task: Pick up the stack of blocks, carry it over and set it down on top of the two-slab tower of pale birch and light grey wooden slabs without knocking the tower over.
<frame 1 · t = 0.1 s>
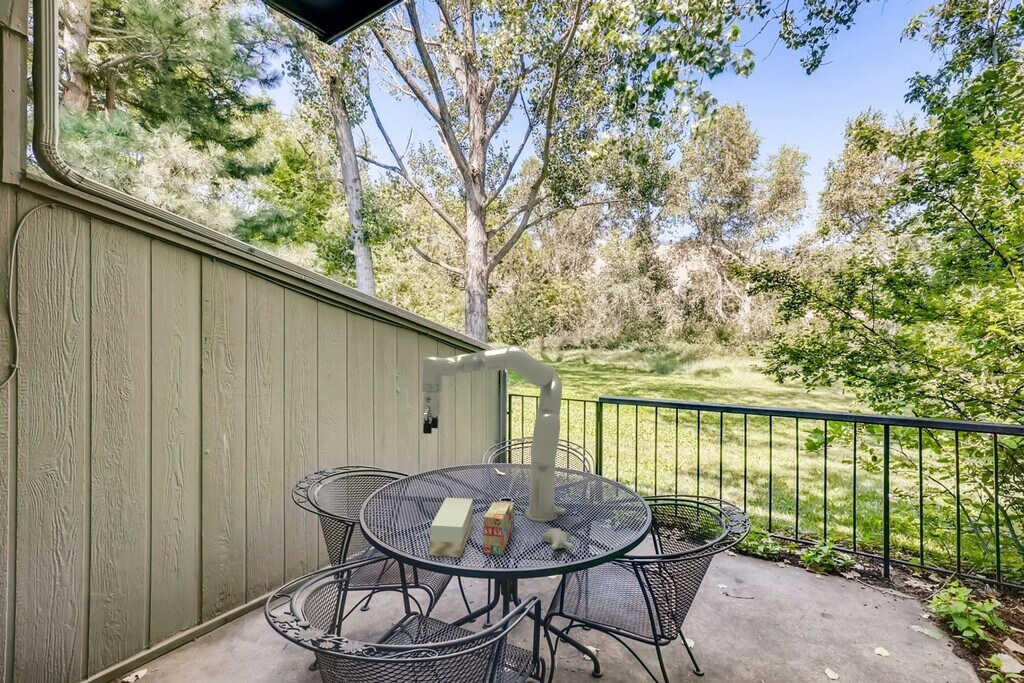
hand: (430, 430, 178), 31 cm above the table, tool pointing down, fingers open, 9 cm apart
lower slab: (452, 540, 154), on the table, touching upper slab
upper slab: (453, 525, 154), point 5 cm above the table, touching lower slab
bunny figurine: (557, 547, 151), on the table
stack of blocks: (499, 540, 155), on the table
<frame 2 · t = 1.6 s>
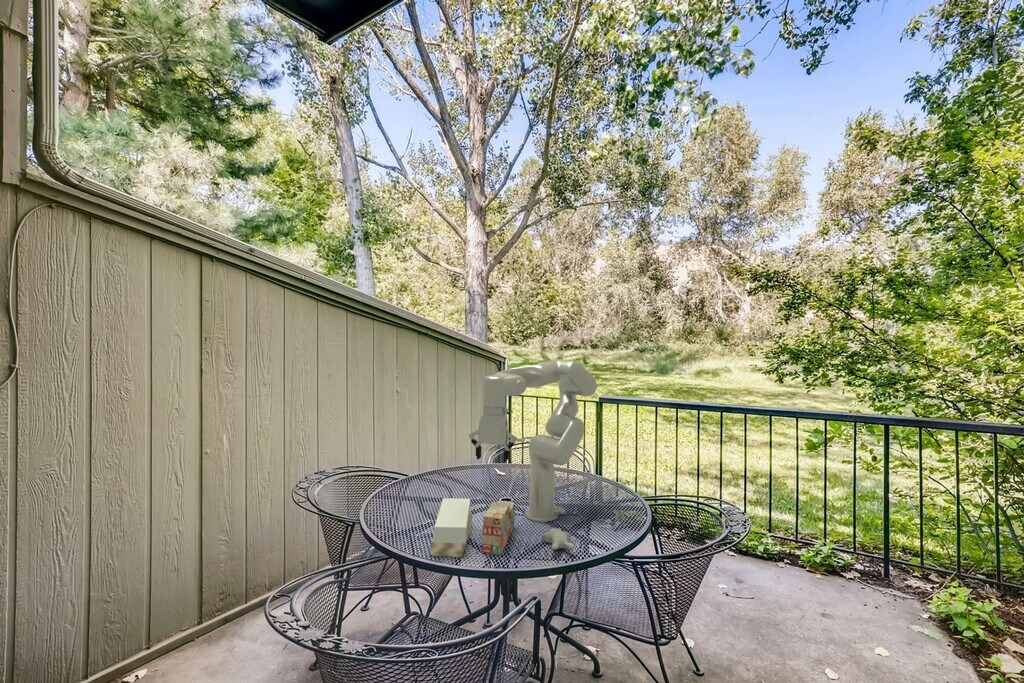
hand: (492, 459, 157), 27 cm above the table, tool pointing down, fingers open, 9 cm apart
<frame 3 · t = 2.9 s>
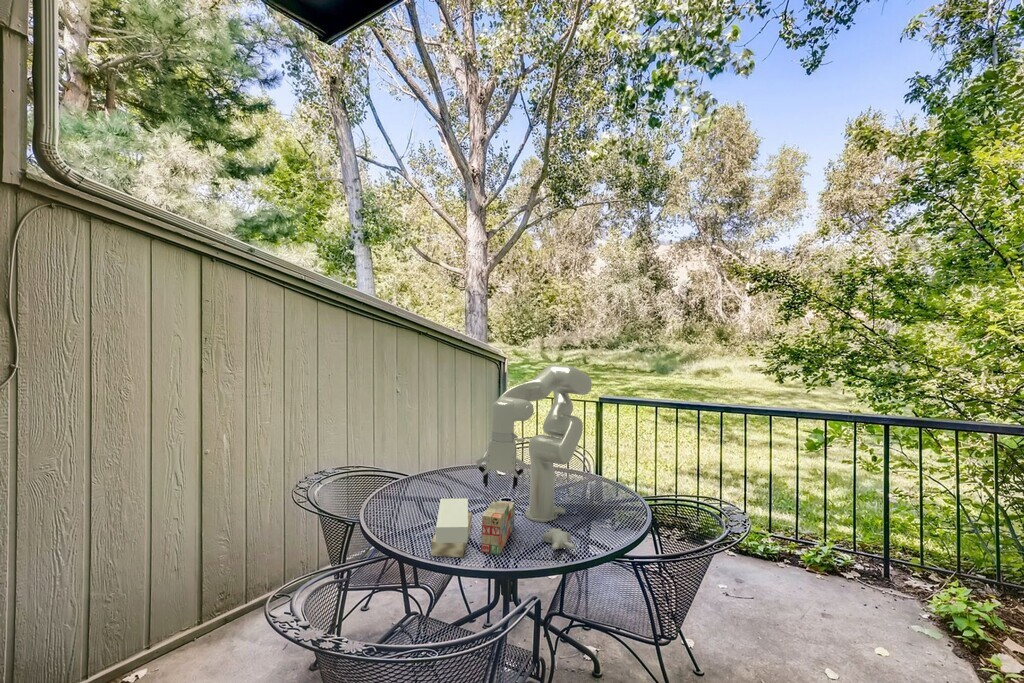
hand: (500, 486, 154), 18 cm above the table, tool pointing down, fingers open, 9 cm apart
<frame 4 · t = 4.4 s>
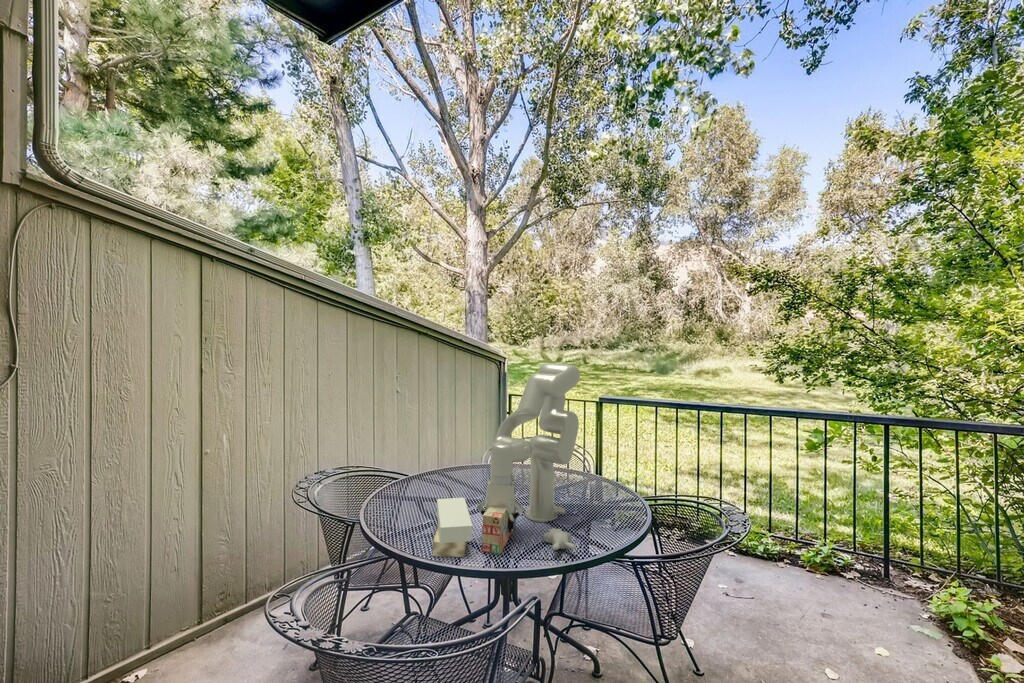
hand: (499, 529, 155), 3 cm above the table, tool pointing down, fingers closed on stack of blocks, 6 cm apart
stack of blocks: (499, 539, 155), on the table, touching gripper
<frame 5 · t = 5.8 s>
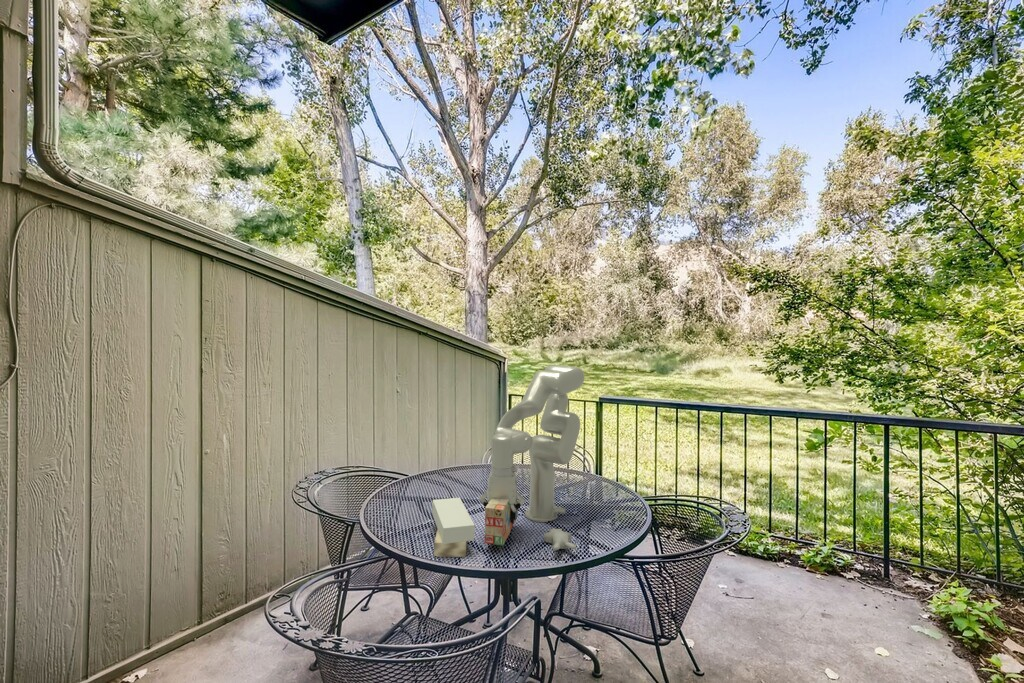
hand: (501, 520, 155), 6 cm above the table, tool pointing down, fingers closed on stack of blocks, 6 cm apart
stack of blocks: (502, 530, 156), point 2 cm above the table, touching gripper
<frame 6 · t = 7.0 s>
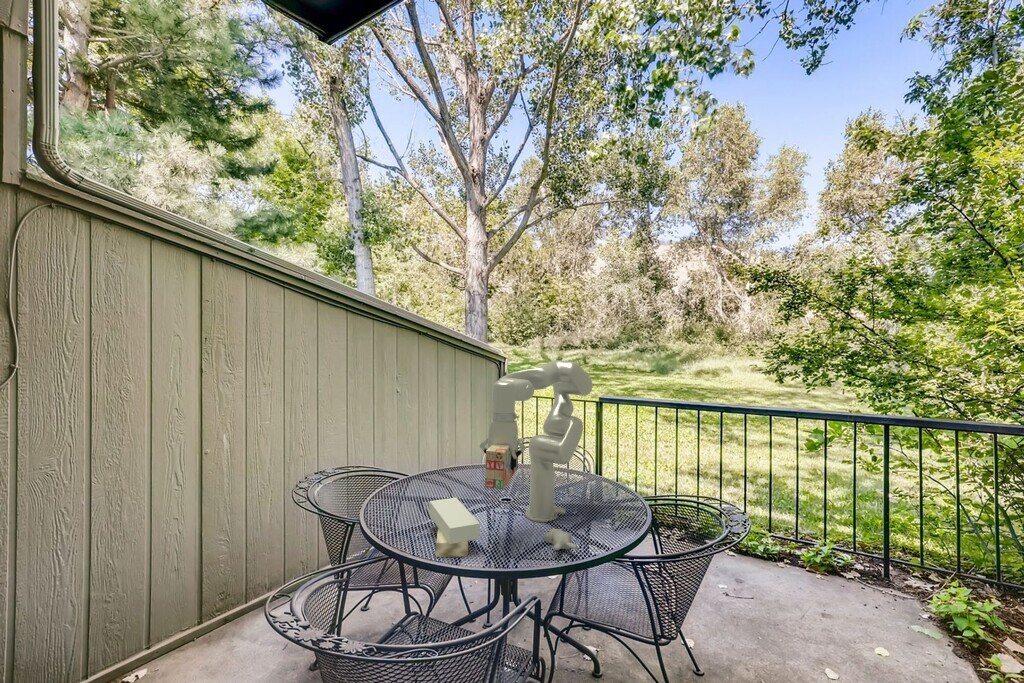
hand: (502, 468, 154), 25 cm above the table, tool pointing down, fingers closed on stack of blocks, 6 cm apart
stack of blocks: (502, 478, 155), point 21 cm above the table, touching gripper
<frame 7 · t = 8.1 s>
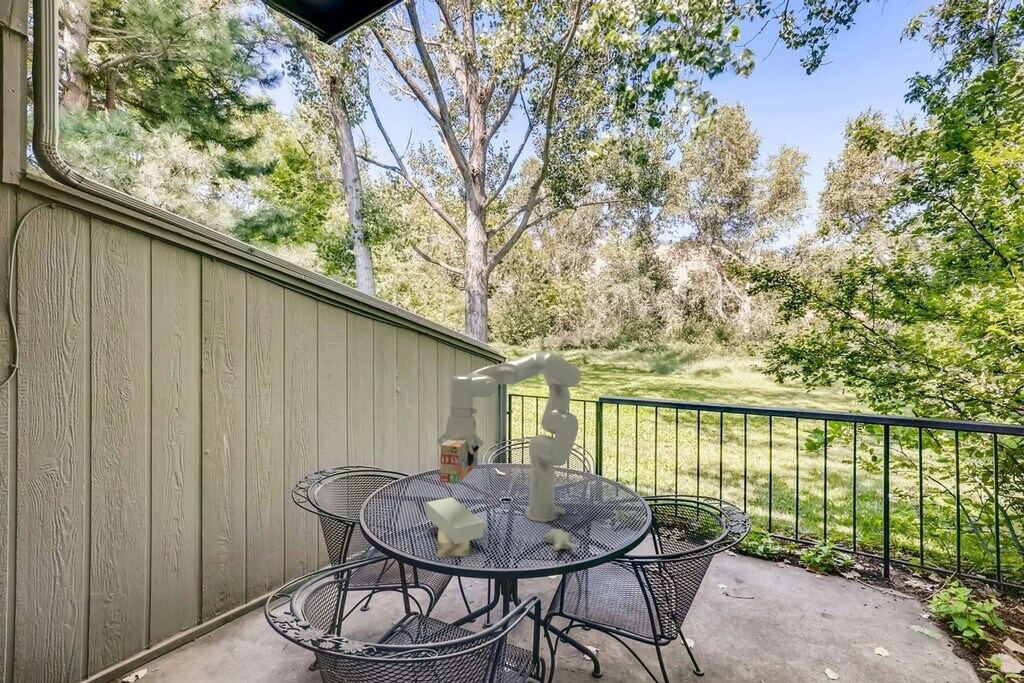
hand: (459, 463, 153), 26 cm above the table, tool pointing down, fingers closed on stack of blocks, 6 cm apart
stack of blocks: (459, 473, 154), point 22 cm above the table, touching gripper
when the fingers open (15 cm above the table, at t = 11.2 s): stack of blocks drops 2 cm, resting on upper slab.
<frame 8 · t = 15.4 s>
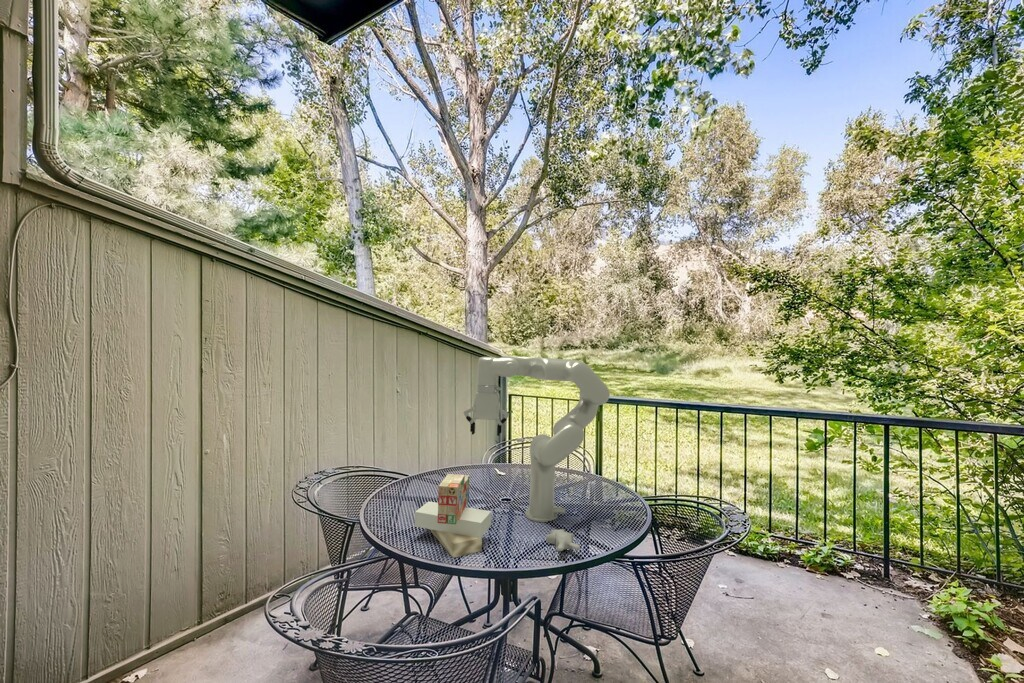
hand: (485, 434, 171), 32 cm above the table, tool pointing down, fingers open, 9 cm apart
upper slab: (453, 525, 154), point 4 cm above the table, touching lower slab, stack of blocks
stack of blocks: (454, 511, 154), point 9 cm above the table, touching upper slab
at the end: stack of blocks inside the target area on the lower slab (0.3 cm from its centre), point 9.8 cm above the lower slab's base; upper slab 0.3 cm from the lower slab (horizontally); stack of blocks tilted 0° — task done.
